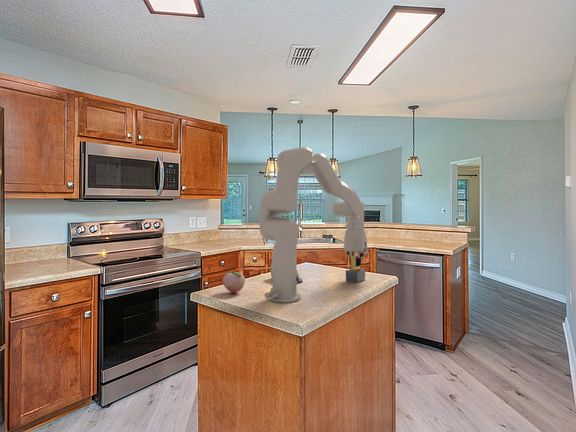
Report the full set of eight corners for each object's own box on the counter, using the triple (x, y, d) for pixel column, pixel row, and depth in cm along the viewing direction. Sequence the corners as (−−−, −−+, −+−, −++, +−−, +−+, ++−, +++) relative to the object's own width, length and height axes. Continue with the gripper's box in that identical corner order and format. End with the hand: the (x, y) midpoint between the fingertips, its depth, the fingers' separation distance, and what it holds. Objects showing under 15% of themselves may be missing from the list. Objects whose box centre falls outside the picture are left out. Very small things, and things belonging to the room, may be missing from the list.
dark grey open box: (357, 283, 156) (357, 272, 155) (345, 281, 159) (345, 270, 159) (365, 279, 162) (365, 269, 162) (353, 278, 166) (353, 267, 165)
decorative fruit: (249, 292, 141) (249, 268, 141) (237, 297, 134) (236, 272, 134) (232, 289, 146) (231, 266, 145) (219, 293, 139) (218, 269, 138)
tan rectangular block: (355, 277, 158) (355, 256, 157) (351, 276, 160) (351, 256, 159) (360, 275, 161) (359, 255, 161) (355, 275, 163) (355, 254, 162)
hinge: (303, 282, 158) (298, 263, 155) (296, 287, 154) (291, 268, 152) (279, 276, 169) (273, 258, 167) (272, 281, 166) (267, 263, 164)
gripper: (337, 227, 161) (337, 265, 162) (367, 228, 151) (367, 269, 152) (344, 225, 167) (344, 262, 168) (375, 227, 157) (374, 266, 158)
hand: (355, 265), depth 160 cm, fingers closed on tan rectangular block, 2 cm apart
